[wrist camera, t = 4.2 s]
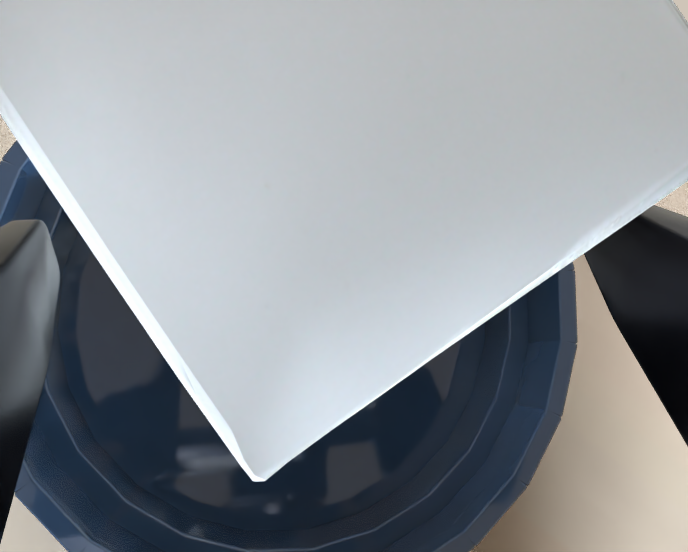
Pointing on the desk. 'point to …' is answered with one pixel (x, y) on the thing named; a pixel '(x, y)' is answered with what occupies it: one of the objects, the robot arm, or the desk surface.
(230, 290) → the white packaging box
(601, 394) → the desk surface
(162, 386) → the basin
